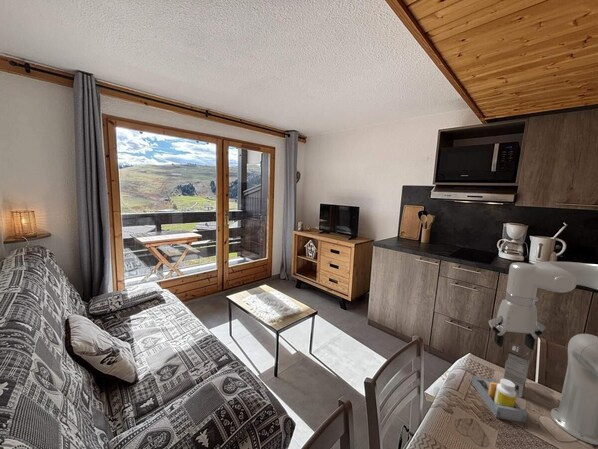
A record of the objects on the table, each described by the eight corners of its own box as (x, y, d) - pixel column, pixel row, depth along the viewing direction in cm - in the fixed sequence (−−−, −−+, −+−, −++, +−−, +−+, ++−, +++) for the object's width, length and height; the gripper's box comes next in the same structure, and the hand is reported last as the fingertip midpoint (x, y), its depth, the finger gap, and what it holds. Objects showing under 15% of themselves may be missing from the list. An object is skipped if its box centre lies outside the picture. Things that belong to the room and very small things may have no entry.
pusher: (493, 385, 98) (495, 370, 97) (506, 401, 90) (509, 386, 89) (477, 382, 99) (479, 368, 98) (489, 399, 91) (491, 383, 90)
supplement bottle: (516, 416, 85) (521, 390, 83) (498, 412, 86) (503, 386, 84) (507, 403, 90) (511, 378, 89) (490, 399, 91) (494, 375, 90)
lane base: (496, 386, 99) (497, 377, 98) (525, 422, 83) (527, 412, 82) (471, 382, 100) (473, 373, 99) (496, 417, 84) (497, 407, 84)
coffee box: (504, 377, 104) (510, 341, 102) (525, 386, 99) (532, 349, 97) (500, 388, 98) (507, 350, 96) (522, 398, 93) (529, 359, 91)
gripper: (538, 296, 87) (532, 342, 89) (485, 293, 89) (480, 337, 92) (558, 306, 80) (550, 355, 82) (499, 302, 82) (493, 350, 84)
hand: (513, 345), depth 87 cm, fingers open, 9 cm apart
